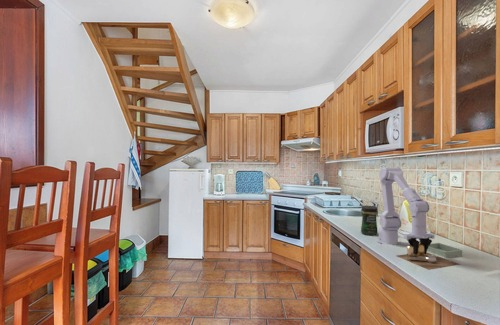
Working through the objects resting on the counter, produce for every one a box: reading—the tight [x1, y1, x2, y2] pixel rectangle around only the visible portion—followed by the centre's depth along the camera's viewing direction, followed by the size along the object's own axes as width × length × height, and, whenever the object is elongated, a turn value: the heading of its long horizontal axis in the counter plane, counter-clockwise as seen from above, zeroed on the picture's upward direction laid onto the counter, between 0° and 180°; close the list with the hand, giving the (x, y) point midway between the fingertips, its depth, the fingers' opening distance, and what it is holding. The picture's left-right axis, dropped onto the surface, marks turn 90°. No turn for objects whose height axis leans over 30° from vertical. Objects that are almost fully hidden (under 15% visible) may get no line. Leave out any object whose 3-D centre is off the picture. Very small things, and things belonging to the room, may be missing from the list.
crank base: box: [396, 251, 461, 271], centre depth 110 cm, size 16×20×1 cm
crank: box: [406, 245, 436, 263], centre depth 109 cm, size 11×4×6 cm, turn 76°
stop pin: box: [414, 242, 424, 256], centre depth 114 cm, size 4×4×6 cm
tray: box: [427, 242, 463, 259], centre depth 119 cm, size 11×11×4 cm
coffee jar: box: [360, 205, 379, 236], centre depth 155 cm, size 10×8×19 cm
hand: (419, 253), depth 114 cm, fingers closed on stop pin, 4 cm apart
